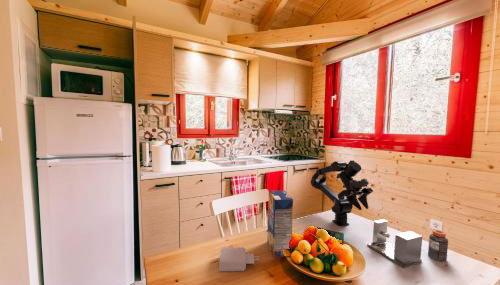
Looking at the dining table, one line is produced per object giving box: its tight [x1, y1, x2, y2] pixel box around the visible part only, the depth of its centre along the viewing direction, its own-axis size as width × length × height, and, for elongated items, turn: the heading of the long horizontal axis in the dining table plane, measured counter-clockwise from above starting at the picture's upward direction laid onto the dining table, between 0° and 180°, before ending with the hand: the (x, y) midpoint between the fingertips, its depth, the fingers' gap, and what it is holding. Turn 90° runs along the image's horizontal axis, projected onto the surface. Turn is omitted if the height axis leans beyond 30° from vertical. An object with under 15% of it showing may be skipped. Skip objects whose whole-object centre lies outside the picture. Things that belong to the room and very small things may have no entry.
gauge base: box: [367, 230, 423, 269], centre depth 92 cm, size 16×11×11 cm
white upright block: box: [370, 219, 391, 245], centre depth 96 cm, size 5×8×10 cm, turn 111°
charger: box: [218, 246, 260, 272], centre depth 84 cm, size 5×9×15 cm
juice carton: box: [266, 190, 294, 258], centre depth 94 cm, size 12×8×24 cm, turn 7°
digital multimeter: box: [316, 226, 345, 242], centre depth 106 cm, size 7×15×3 cm, turn 62°
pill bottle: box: [427, 229, 449, 262], centre depth 90 cm, size 6×6×11 cm
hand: (364, 209), depth 106 cm, fingers open, 4 cm apart
